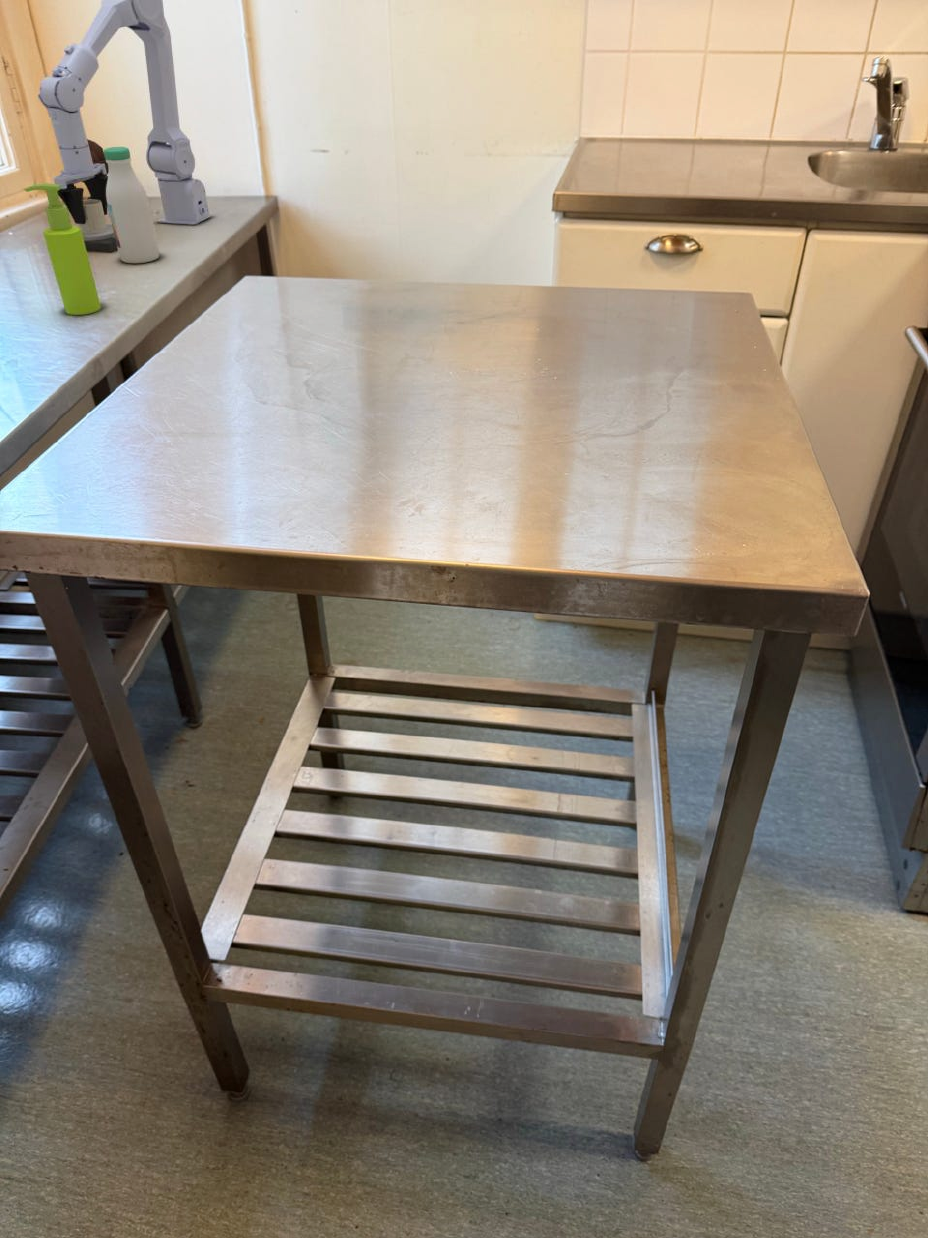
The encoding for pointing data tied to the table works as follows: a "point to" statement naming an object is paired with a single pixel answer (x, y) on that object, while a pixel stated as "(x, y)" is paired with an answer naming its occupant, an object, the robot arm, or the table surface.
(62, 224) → the soap dispenser
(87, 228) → the light grey cup
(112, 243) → the scale
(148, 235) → the milk bottle
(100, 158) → the ice cream bowl
